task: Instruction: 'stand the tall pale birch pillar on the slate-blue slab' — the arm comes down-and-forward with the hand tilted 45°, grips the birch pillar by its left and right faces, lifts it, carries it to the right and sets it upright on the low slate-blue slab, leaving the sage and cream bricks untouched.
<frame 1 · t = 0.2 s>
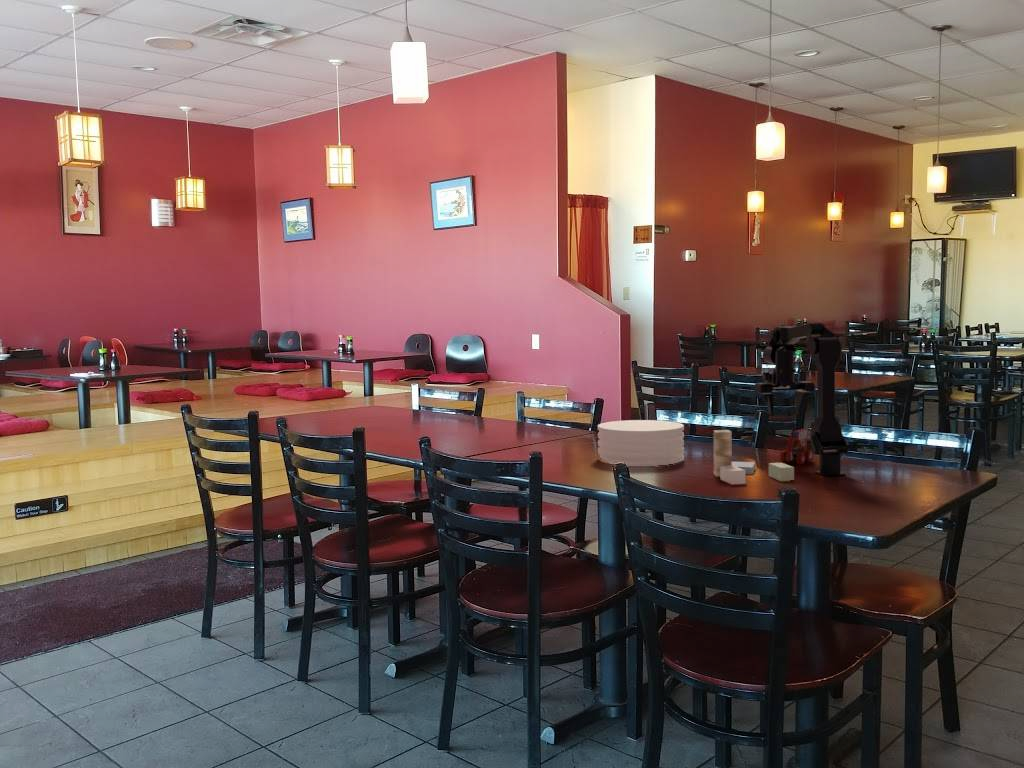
hand: (784, 413, 284), 15 cm above the table, tool pointing down, fingers open, 9 cm apart
birch pillar: (722, 474, 260), on the table
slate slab: (738, 472, 266), on the table
toy fire truck: (796, 463, 278), on the table
cream brick: (732, 482, 250), on the table
sage brick: (781, 478, 253), on the table
plate stack: (640, 460, 290), on the table
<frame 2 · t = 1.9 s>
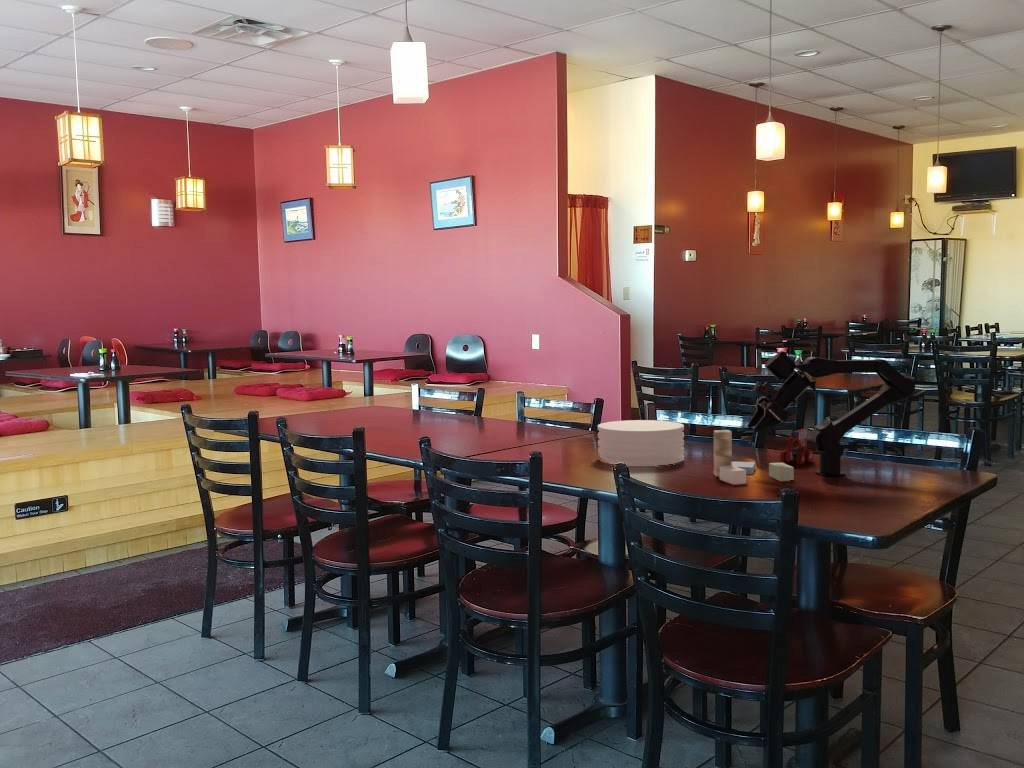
hand: (751, 429, 258), 13 cm above the table, tool tilted 45°, fingers open, 9 cm apart
nothing on the table moved.
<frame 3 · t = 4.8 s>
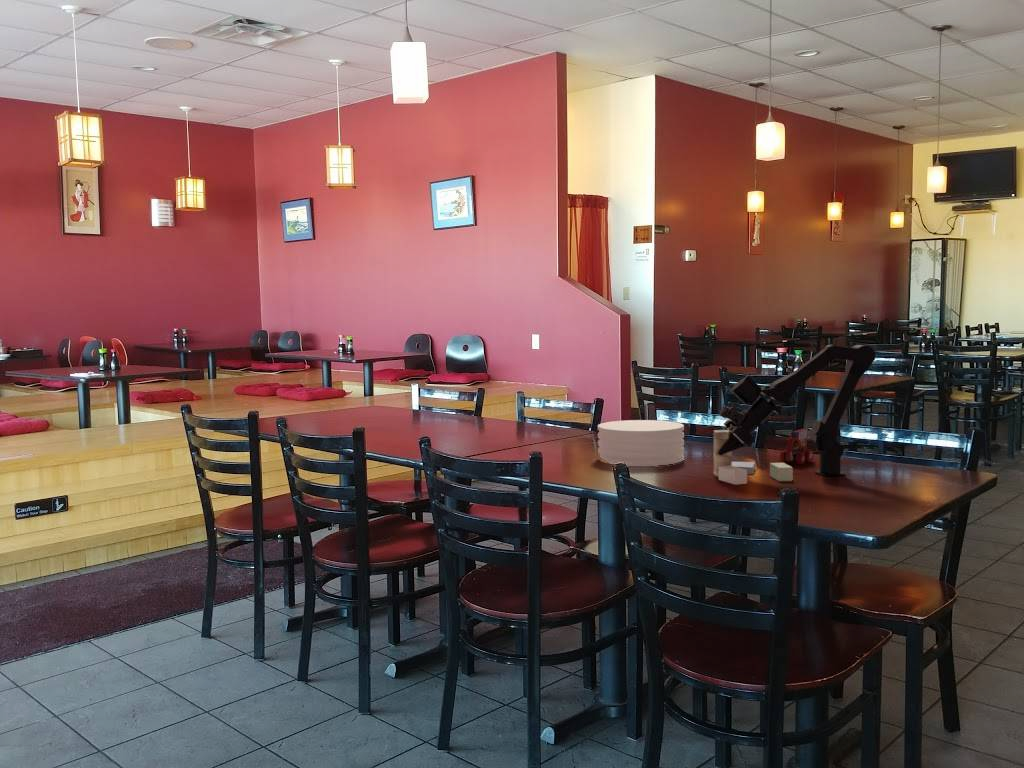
hand: (717, 452, 260), 7 cm above the table, tool tilted 45°, fingers closed on birch pillar, 4 cm apart
birch pillar: (722, 474, 260), on the table, touching gripper
everything else where it was.
when the fingers open (10 cm above the table, at t = 7.7 s): birch pillar drops 1 cm, resting on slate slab.
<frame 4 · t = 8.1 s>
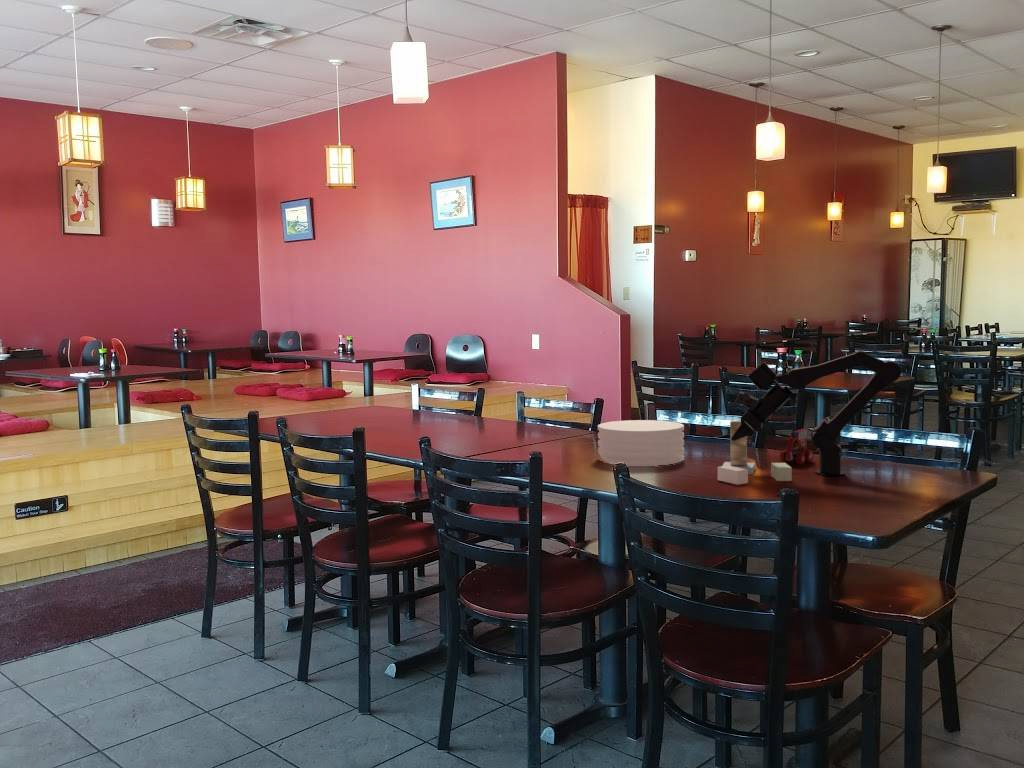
hand: (733, 437, 266), 10 cm above the table, tool tilted 45°, fingers open, 9 cm apart
birch pillar: (738, 464, 266), point 2 cm above the table, touching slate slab
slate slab: (738, 473, 266), on the table, touching birch pillar
everything else where it was.
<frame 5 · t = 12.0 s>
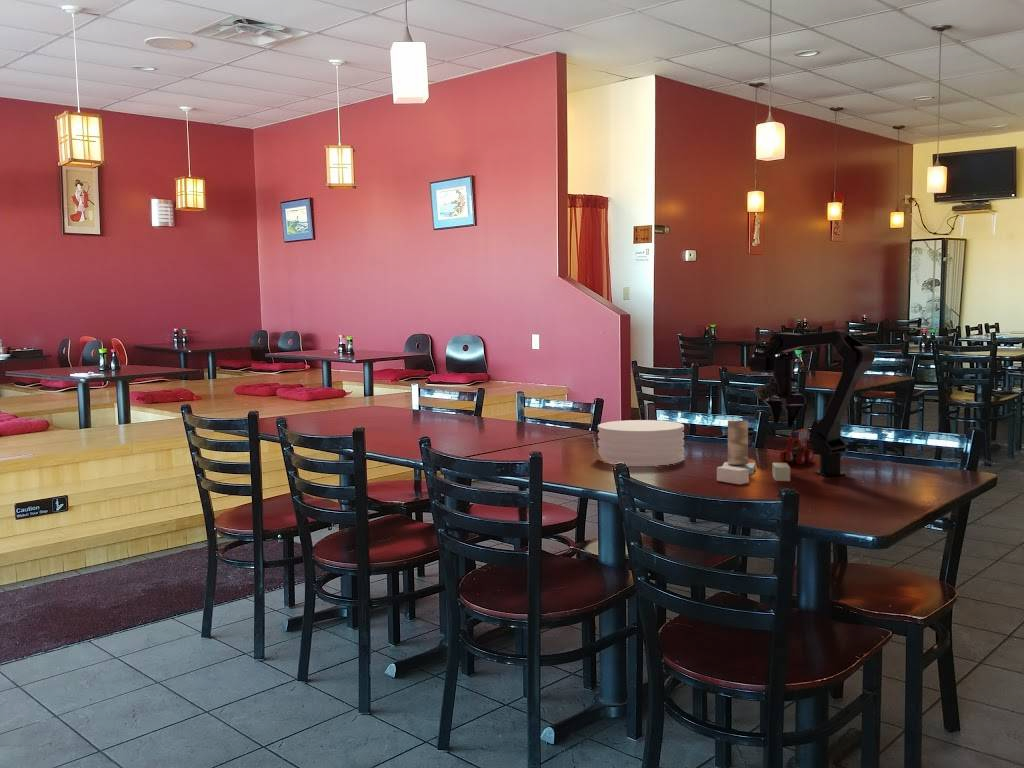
hand: (782, 425, 269), 13 cm above the table, tool pointing down, fingers open, 9 cm apart
at the end: birch pillar inside the target area on the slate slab (0.2 cm from its centre), point 2.8 cm above the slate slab's base; birch pillar tilted 6°; cream brick moved 0.2 cm from its start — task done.
